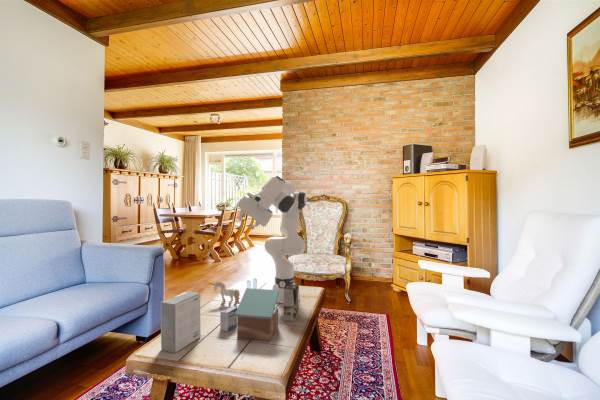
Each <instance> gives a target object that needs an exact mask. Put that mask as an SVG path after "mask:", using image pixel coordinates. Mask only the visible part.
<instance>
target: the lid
mask: <svg viewBox="0 0 600 400" xmlns="http://www.w3.org/2000/svg"><path fill="white" fill-rule="evenodd" d="M278 295H279V290H273V289H265V288H250V287H246V288H245V290H244V293H243V295H242V298H241V300H240V301H239V303H240V304H238V307H237V311H236V316H237V317H249V318H260V319H272V315H273V312H274V309H275V308H276V306H277V298H278Z"/></svg>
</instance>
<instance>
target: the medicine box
mask: <svg viewBox="0 0 600 400" xmlns="http://www.w3.org/2000/svg"><path fill="white" fill-rule="evenodd" d="M237 309H238V307H236V306H228V307H227V308H225V309H223V310H222V311H220V316H219V317H220V319H219V321H220V323H219V324H220V326H219V328H220V330H221V331H225V332H229V331H230V330H232V329H233V328H234V327H237V316H236V311H237Z"/></svg>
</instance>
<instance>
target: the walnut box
mask: <svg viewBox="0 0 600 400" xmlns="http://www.w3.org/2000/svg"><path fill="white" fill-rule="evenodd" d="M236 327H237V329H236V331H237V333H236V336H237V337H236V339H238V340H239V339H240V340H249V341H259V342H269V343H270V342H271V340H272V339H273V337H274V335H275V334H276V332H277V331H278V329H279V307H275V309H274V312H273V315H272V319H260V318H249V317H237V325H236Z"/></svg>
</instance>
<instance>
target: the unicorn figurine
mask: <svg viewBox="0 0 600 400" xmlns="http://www.w3.org/2000/svg"><path fill="white" fill-rule="evenodd" d="M213 282H214V283H211V282H207V284H209V285H213V290H214V291H217V290H218V288H219V289H220V290H219V292H220V296H221V298H222V300H221V301H222V302H221V304H220V305H221V306H222V305H225V303H226V299H225V297H229V298H230V301H229V302H228V307H232V303H233V301H234V303H233V306H237V305H239V304H240V296H241V294H240V291H239V290H238V288H237V289H235V288H228V287H227V286H226V284H225V283H224V282H222V281H213ZM224 296H225V297H224Z"/></svg>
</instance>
